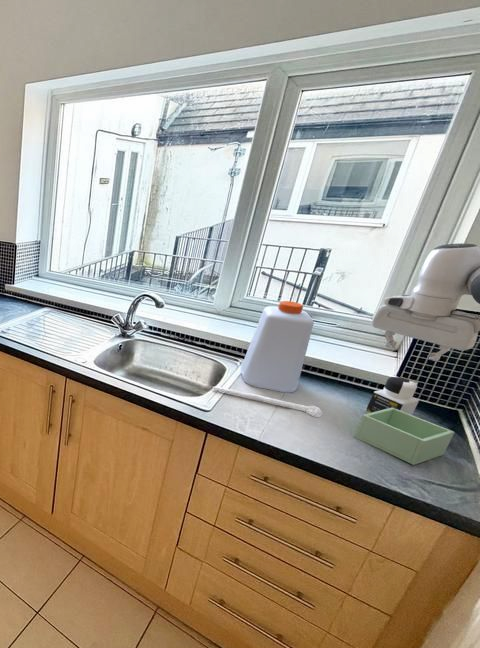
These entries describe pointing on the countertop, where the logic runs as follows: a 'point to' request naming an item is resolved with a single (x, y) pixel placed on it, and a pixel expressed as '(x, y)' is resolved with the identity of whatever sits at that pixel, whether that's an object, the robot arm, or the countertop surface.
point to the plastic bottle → (278, 348)
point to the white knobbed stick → (273, 401)
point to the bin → (403, 435)
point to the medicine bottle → (395, 396)
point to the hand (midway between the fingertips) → (410, 353)
